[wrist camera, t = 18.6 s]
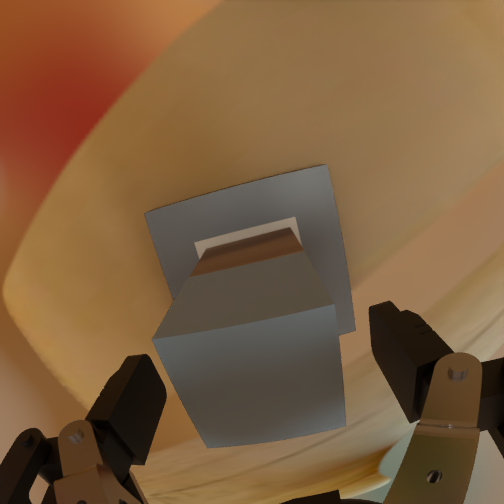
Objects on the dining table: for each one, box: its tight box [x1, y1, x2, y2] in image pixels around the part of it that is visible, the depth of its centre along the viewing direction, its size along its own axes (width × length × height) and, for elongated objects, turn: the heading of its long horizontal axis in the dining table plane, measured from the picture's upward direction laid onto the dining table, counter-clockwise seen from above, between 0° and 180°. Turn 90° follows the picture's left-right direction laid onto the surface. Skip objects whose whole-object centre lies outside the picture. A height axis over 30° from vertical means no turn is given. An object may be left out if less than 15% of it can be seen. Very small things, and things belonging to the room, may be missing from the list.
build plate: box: [144, 164, 356, 335], centre depth 18 cm, size 11×11×1 cm
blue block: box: [152, 251, 346, 448], centre depth 11 cm, size 5×5×5 cm
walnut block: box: [190, 227, 304, 277], centre depth 15 cm, size 5×5×5 cm
